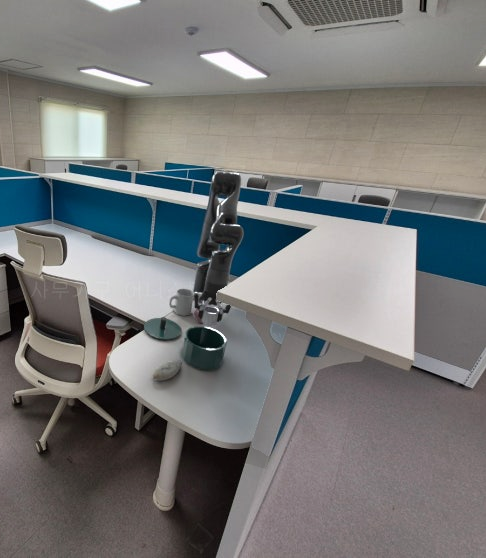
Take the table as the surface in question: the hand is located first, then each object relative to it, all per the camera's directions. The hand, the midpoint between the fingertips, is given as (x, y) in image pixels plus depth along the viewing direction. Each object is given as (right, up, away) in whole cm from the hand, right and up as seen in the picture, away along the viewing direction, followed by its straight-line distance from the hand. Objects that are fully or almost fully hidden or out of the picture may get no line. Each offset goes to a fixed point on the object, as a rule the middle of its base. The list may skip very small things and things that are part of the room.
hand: (209, 319), depth 114 cm
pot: (-1, -16, +7) cm, 18 cm away
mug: (-3, -2, +39) cm, 39 cm away
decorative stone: (-16, -20, -2) cm, 26 cm away
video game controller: (+7, -4, +34) cm, 35 cm away
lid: (-14, -7, +24) cm, 28 cm away
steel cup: (0, -1, 0) cm, 1 cm away
